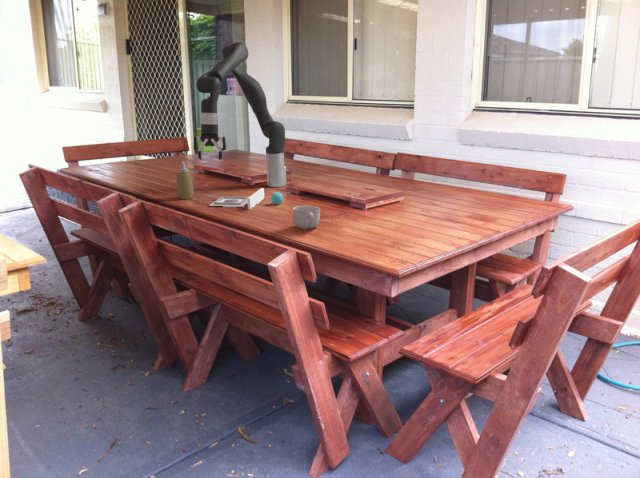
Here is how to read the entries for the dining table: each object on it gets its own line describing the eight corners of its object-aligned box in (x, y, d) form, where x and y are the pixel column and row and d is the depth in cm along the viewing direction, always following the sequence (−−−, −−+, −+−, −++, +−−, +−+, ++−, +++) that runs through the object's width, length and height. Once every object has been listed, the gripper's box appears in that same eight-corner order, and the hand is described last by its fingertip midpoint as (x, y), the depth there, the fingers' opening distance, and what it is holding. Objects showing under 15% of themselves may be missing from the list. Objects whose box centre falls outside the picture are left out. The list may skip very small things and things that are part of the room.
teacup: (292, 224, 241) (291, 205, 239) (319, 223, 242) (319, 203, 239) (294, 234, 228) (293, 213, 225) (322, 232, 229) (322, 212, 226)
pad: (221, 198, 288) (221, 195, 288) (253, 199, 285) (253, 196, 285) (209, 206, 273) (208, 203, 273) (242, 207, 270) (242, 204, 270)
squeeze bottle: (197, 196, 294) (194, 160, 289) (189, 200, 287) (185, 162, 281) (183, 195, 296) (179, 159, 291) (174, 199, 289) (170, 162, 284)
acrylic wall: (261, 198, 287) (261, 187, 286) (264, 198, 287) (263, 187, 285) (247, 209, 267) (247, 198, 265) (250, 209, 266) (249, 198, 265)
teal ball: (277, 202, 279) (276, 190, 277) (285, 203, 275) (285, 191, 274) (268, 204, 275) (268, 192, 273) (277, 206, 271) (276, 194, 270)
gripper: (225, 123, 272) (226, 159, 275) (193, 122, 270) (194, 158, 274) (225, 123, 264) (225, 160, 268) (192, 123, 263) (193, 160, 267)
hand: (210, 159), depth 271 cm, fingers open, 8 cm apart
